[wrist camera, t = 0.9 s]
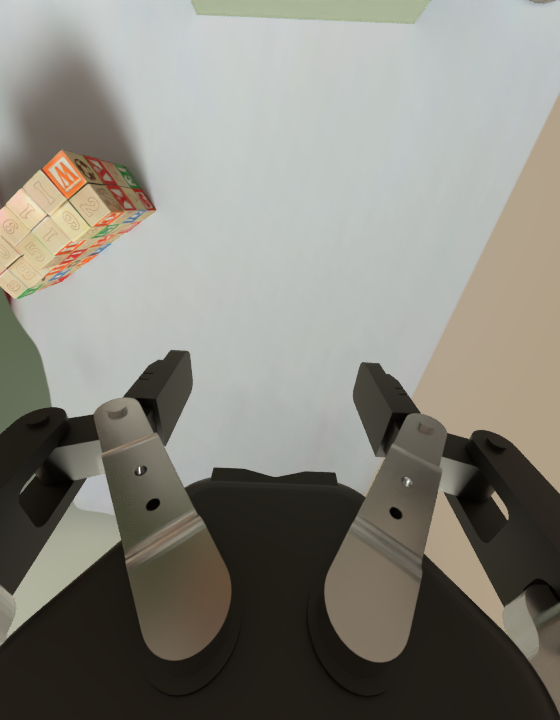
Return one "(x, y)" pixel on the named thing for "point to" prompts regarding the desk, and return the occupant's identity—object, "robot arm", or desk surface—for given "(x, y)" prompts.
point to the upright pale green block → (317, 9)
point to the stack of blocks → (65, 220)
